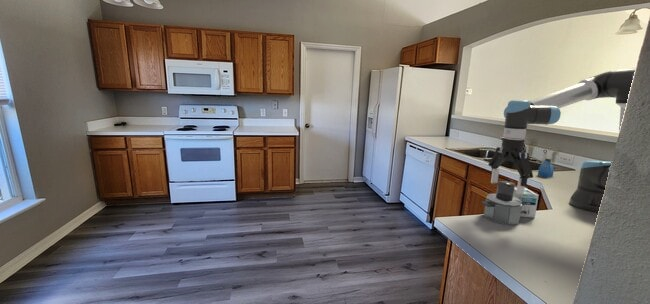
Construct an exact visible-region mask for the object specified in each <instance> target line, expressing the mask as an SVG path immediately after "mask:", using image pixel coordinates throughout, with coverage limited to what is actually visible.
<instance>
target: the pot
mask: <svg viewBox="0 0 650 304" xmlns="http://www.w3.org/2000/svg"><path fill="white" fill-rule="evenodd" d="M481 205H483V206H484V209H483V210H484V211H483V217H484V218H486V219H487V220H490V221H491V222H493V223H497V224H501V225H504V226H505V225H506V226H512V225H513V226H514V225H519V223H520V218H521V216H520V214H521V208H522V205H525V203H524V202H522V203H521V205H520V206H504V205H500V204H496V203H493V202H491V201H489V200H488V199H487V196H486V198H485V201H481Z"/></svg>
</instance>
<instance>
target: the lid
mask: <svg viewBox="0 0 650 304" xmlns="http://www.w3.org/2000/svg"><path fill="white" fill-rule="evenodd" d="M515 187H516V183H515V182H511V181H507V180H498V182H497V186H496V193H489V194H487V196H486V197H487V199H488V200H489V201H491V202H493V203H496V204H500V205H504V206H520V205H521V203H522V201H521V200H519V199H518V198H515V197H513V194H514V188H515Z"/></svg>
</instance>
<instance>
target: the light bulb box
mask: <svg viewBox="0 0 650 304" xmlns="http://www.w3.org/2000/svg"><path fill="white" fill-rule="evenodd" d="M516 192H517V186H515V188H514V194H513V197H515V198H518V199H519V200H521V201H522V202H524V203H525V205H522V208H521V214H520V218H521V217H523V218H532V219H534V218H536V213H537V212H536V211H537V207H538V202H539V201H538V200H539V196H540V194H538V193H535V192H533V191H532V190H530V189H528V187H525V189H524V193H522V194H517V193H516Z"/></svg>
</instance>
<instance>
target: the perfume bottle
mask: <svg viewBox="0 0 650 304" xmlns="http://www.w3.org/2000/svg"><path fill="white" fill-rule="evenodd" d="M554 172H555V167H554V165H553V164H552V159H551V158H545V159H544V163H541V164H540V166H538V172H537V176H538V175H540V176H539V177H542V176H544V177H543V178H548V179H549V178H553V177H554Z"/></svg>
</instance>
